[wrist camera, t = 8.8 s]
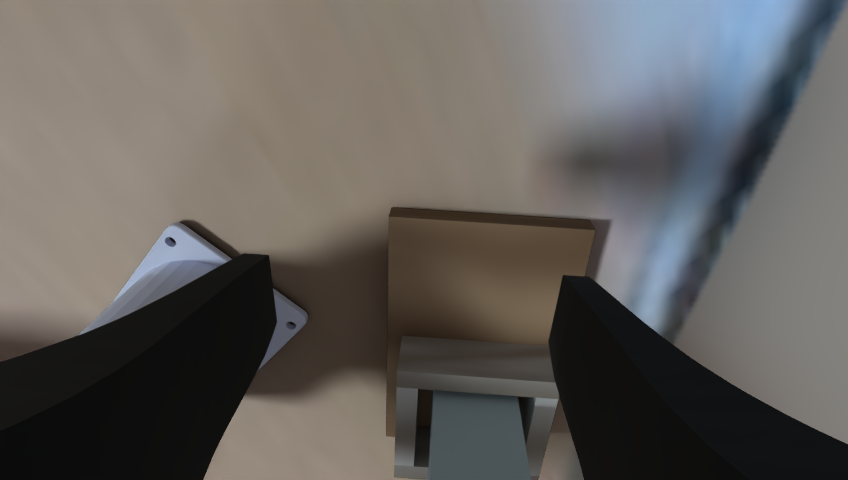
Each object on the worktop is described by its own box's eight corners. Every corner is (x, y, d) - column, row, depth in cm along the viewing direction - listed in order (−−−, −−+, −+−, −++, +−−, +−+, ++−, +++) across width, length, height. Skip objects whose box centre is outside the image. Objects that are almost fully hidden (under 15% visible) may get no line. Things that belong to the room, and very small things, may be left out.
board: (391, 207, 21) (380, 243, 18) (589, 220, 21) (613, 258, 18) (388, 422, 28) (380, 476, 25) (539, 434, 28) (550, 489, 24)
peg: (503, 420, 26) (519, 554, 20) (431, 415, 26) (424, 546, 20) (512, 366, 24) (533, 495, 18) (435, 360, 24) (429, 487, 18)
